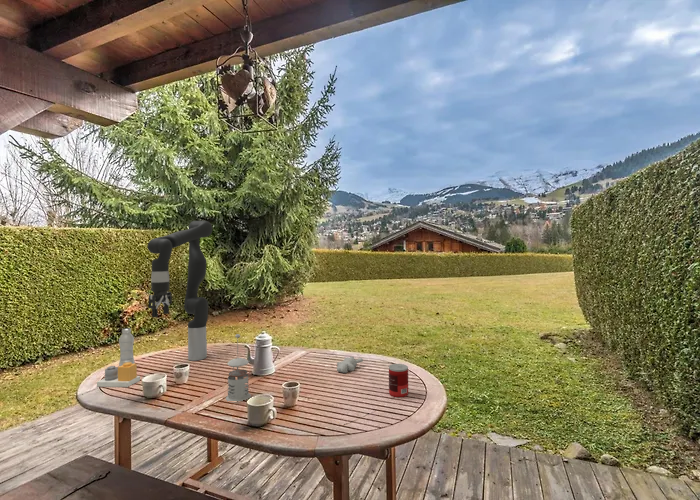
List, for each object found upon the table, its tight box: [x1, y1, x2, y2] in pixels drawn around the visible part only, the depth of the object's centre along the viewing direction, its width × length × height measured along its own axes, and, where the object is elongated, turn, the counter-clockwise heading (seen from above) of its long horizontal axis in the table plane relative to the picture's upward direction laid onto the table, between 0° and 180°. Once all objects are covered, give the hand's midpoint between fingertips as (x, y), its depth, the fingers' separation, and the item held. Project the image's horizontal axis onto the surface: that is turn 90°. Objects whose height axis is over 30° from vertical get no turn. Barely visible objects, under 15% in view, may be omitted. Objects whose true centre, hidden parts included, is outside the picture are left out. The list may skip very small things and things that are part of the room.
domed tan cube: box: [117, 362, 138, 381], centre depth 155 cm, size 5×5×7 cm
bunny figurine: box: [336, 356, 364, 374], centre depth 171 cm, size 10×5×15 cm
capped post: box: [104, 365, 119, 381], centre depth 155 cm, size 5×5×5 cm
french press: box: [225, 333, 252, 402], centre depth 140 cm, size 10×12×25 cm
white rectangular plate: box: [96, 375, 141, 388], centre depth 155 cm, size 8×14×2 cm, turn 86°
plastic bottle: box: [118, 327, 136, 367], centre depth 175 cm, size 6×7×20 cm
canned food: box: [388, 363, 409, 398], centre depth 140 cm, size 8×8×11 cm
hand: (160, 315), depth 165 cm, fingers open, 8 cm apart
